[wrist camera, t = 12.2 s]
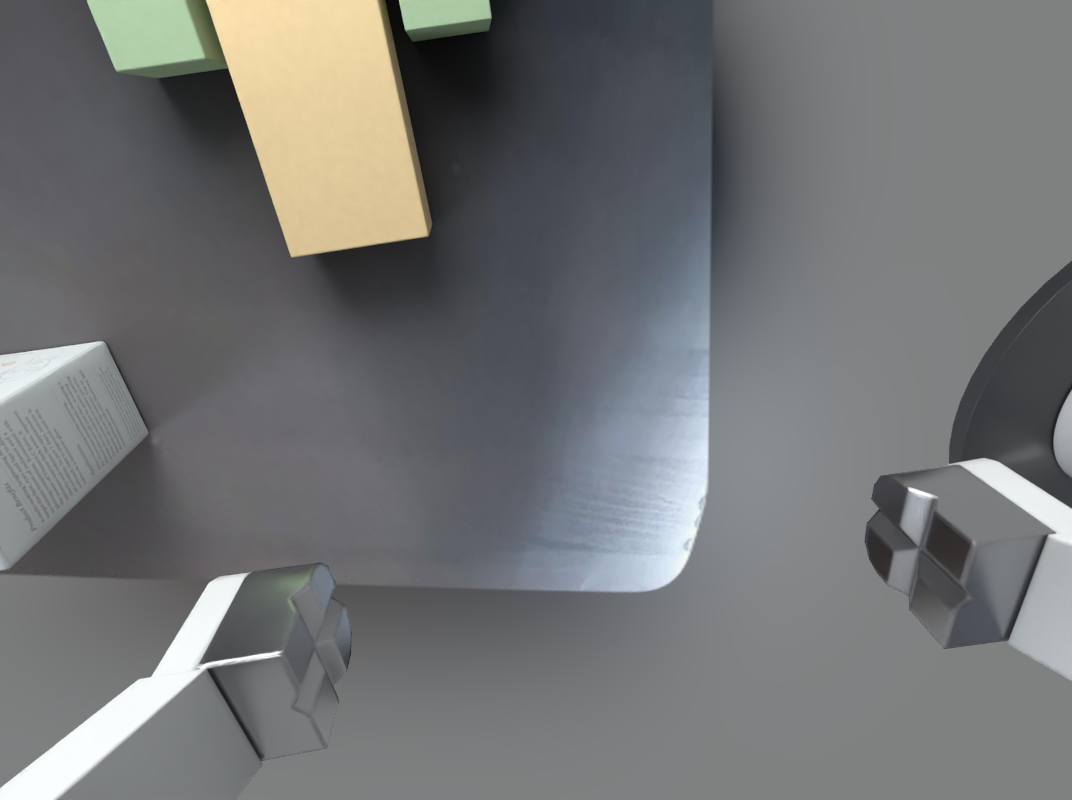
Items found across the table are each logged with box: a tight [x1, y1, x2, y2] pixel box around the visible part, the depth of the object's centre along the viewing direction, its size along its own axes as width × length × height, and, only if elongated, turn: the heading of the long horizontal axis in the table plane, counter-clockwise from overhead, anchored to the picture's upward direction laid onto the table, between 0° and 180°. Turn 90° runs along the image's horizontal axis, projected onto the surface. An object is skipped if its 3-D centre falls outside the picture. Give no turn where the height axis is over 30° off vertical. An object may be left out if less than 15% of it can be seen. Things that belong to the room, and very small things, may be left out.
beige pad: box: [206, 0, 432, 258], centre depth 23 cm, size 6×12×3 cm, turn 7°
